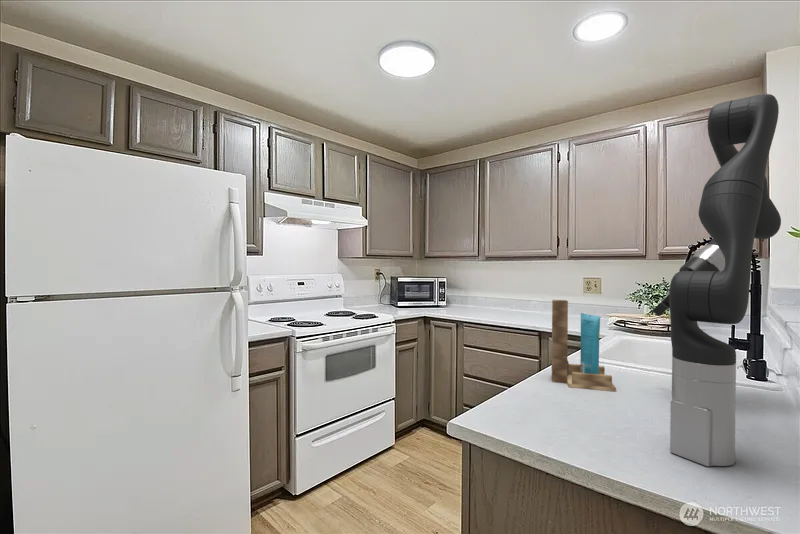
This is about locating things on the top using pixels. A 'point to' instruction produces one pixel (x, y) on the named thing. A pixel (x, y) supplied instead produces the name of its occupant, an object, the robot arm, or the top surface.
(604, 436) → the top surface
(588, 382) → the headboard bracket
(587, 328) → the tube
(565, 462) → the top surface
